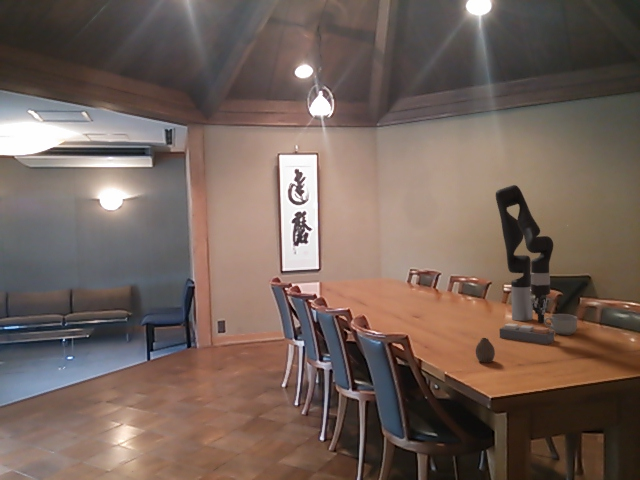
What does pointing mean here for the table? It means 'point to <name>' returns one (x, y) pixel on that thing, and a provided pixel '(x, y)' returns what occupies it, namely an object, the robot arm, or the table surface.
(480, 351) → the vase
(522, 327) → the key grey
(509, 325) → the key ivory
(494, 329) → the table surface
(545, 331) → the key terracotta
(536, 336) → the keypad
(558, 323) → the teacup
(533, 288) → the robot arm
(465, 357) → the table surface
